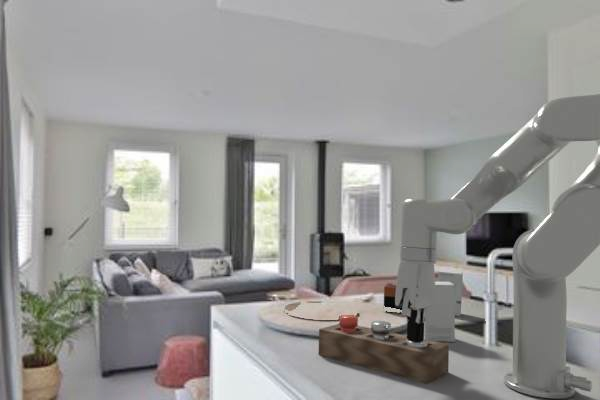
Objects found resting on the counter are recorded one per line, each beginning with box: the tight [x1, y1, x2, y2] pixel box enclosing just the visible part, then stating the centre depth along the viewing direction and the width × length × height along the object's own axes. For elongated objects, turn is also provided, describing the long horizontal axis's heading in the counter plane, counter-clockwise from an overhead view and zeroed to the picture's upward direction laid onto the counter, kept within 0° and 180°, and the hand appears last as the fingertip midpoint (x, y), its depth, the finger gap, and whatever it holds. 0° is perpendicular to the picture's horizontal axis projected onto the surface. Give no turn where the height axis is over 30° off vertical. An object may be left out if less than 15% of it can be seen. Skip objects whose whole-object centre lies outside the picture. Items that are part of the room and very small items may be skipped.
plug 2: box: [406, 339, 428, 349], centre depth 102 cm, size 4×4×5 cm
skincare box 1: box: [437, 270, 464, 317], centre depth 166 cm, size 8×6×15 cm
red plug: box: [338, 315, 359, 333], centre depth 114 cm, size 4×4×5 cm
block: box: [318, 323, 450, 385], centre depth 108 cm, size 28×10×6 cm, turn 49°
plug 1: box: [370, 320, 392, 340], centre depth 108 cm, size 4×4×5 cm
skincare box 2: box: [423, 281, 456, 343], centre depth 131 cm, size 8×7×16 cm
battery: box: [383, 282, 402, 310], centre depth 167 cm, size 4×7×10 cm, turn 71°
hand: (415, 340), depth 103 cm, fingers closed
